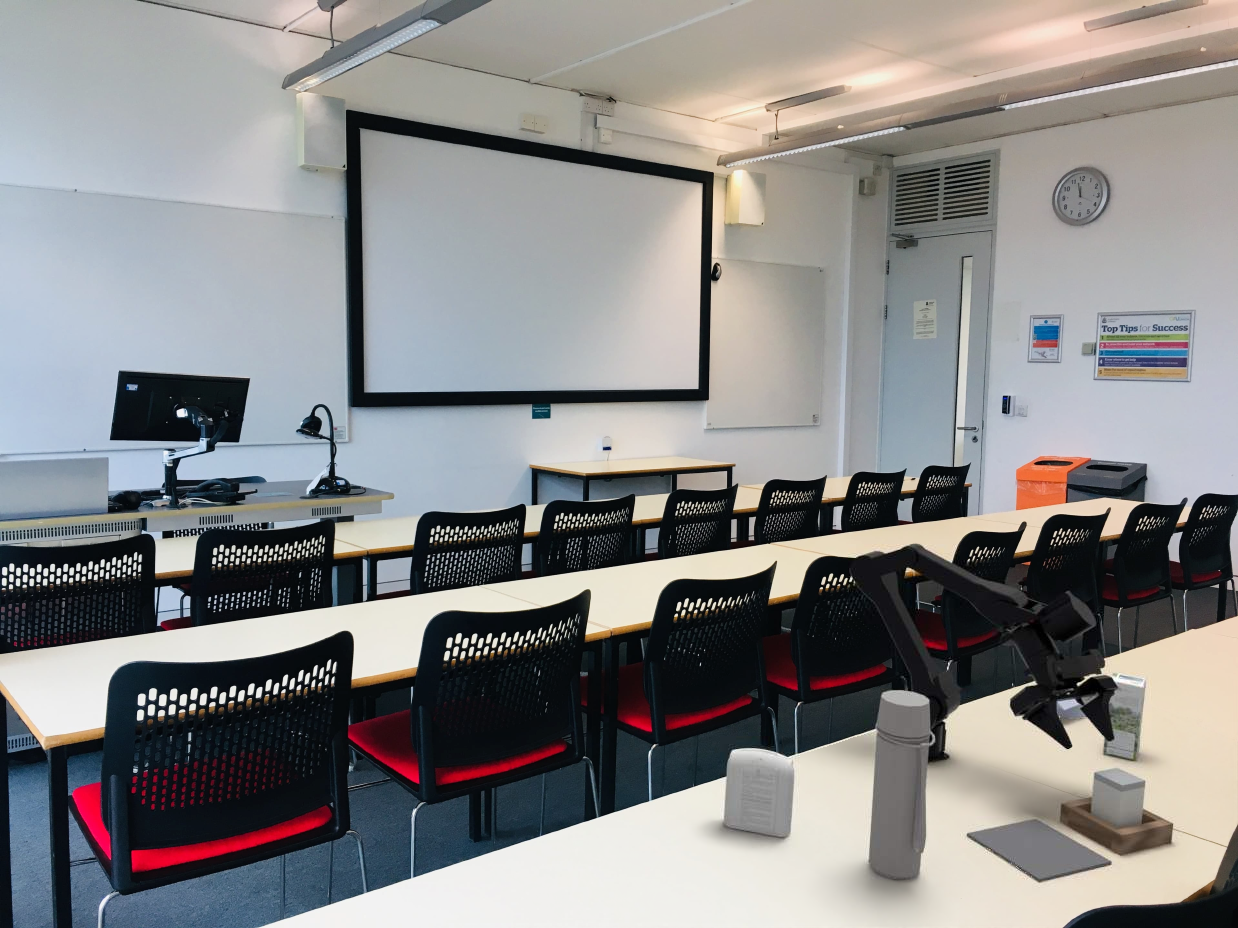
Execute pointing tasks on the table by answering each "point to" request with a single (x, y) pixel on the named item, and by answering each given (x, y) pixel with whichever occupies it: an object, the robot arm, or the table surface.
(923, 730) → the water bottle
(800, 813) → the table surface
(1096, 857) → the rubber mat
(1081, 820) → the frame
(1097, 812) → the grey parts box
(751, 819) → the grey flat block
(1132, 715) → the syrup box
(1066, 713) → the lavender angled block
